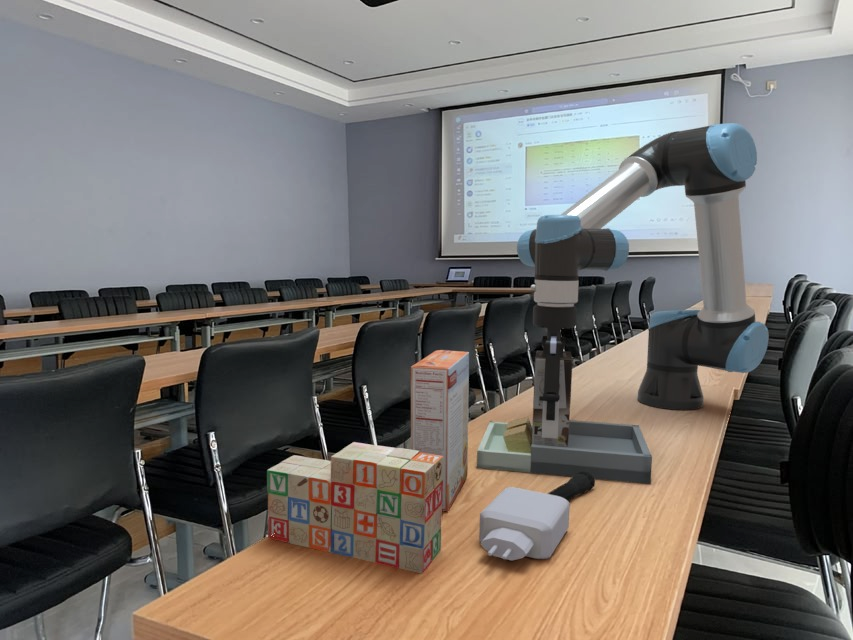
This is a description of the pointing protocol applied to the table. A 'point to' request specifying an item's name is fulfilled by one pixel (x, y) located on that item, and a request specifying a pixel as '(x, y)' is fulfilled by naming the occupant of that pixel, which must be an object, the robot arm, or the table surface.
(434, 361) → the cracker box
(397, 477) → the stack of blocks
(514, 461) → the tray
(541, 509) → the charger
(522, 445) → the tan yellow cube
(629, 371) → the table surface
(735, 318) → the robot arm
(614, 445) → the blue gray tray
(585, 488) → the flashlight
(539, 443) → the coffee box
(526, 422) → the tan wooden cube
